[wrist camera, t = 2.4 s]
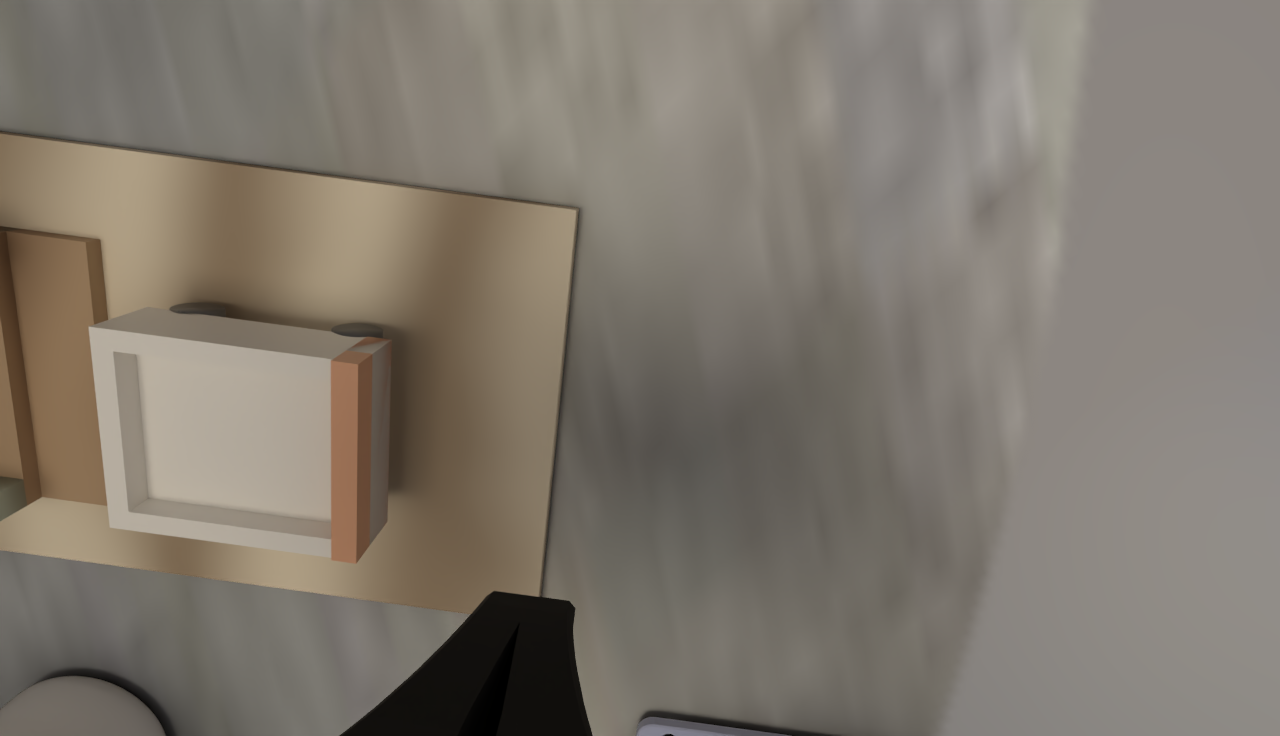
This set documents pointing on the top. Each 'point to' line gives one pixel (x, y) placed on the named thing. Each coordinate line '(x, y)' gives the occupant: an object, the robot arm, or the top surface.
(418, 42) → the top surface
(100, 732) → the drinking glass
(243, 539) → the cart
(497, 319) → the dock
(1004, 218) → the top surface
